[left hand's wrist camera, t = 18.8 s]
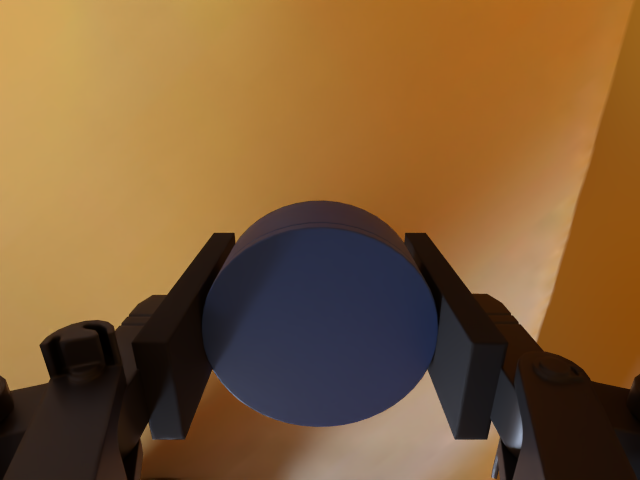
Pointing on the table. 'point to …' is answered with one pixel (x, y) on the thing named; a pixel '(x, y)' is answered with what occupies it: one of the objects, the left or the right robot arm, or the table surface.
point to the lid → (319, 316)
